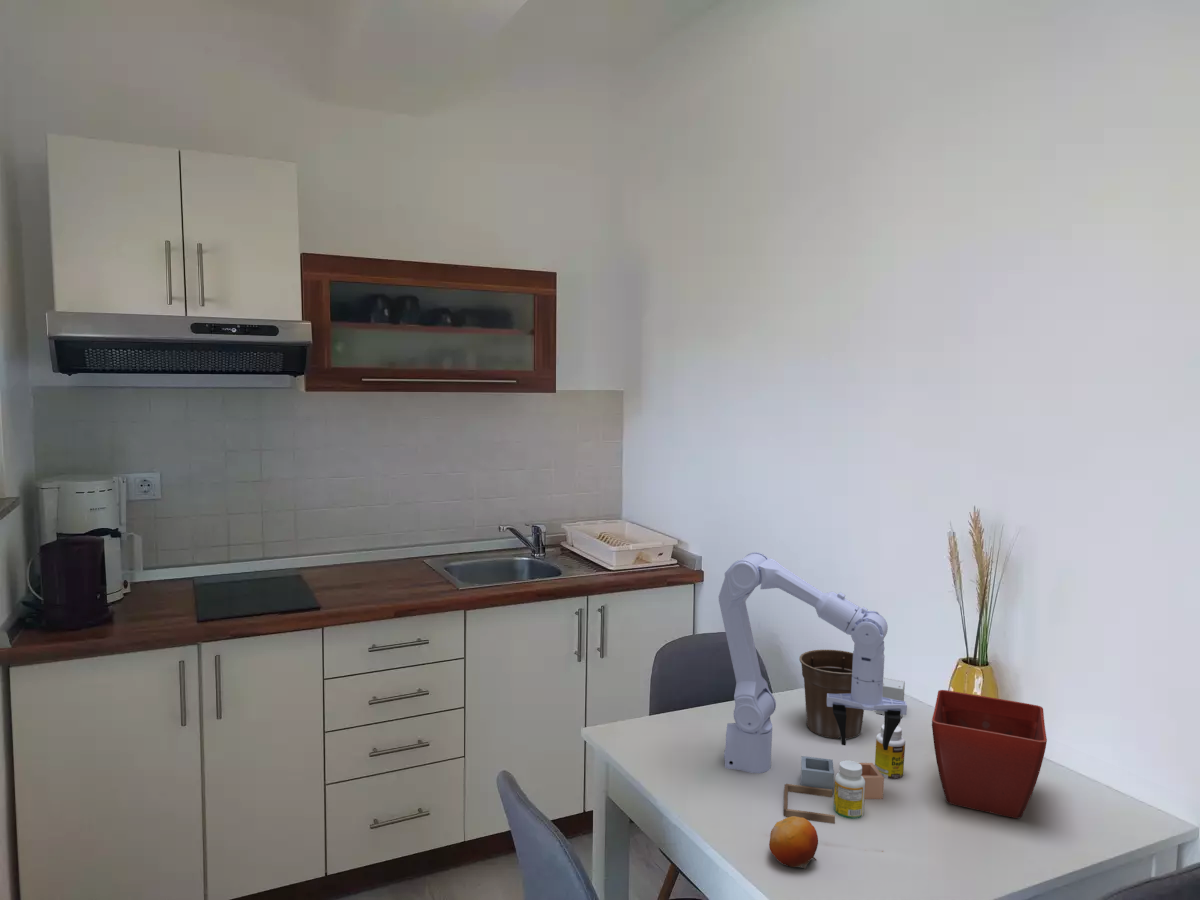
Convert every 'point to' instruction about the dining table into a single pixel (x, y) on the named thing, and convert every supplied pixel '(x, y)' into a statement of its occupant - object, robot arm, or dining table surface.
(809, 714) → the plant pot
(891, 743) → the supplement bottle
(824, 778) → the cup slate
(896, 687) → the skincare box
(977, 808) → the plant pot
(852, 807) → the supplement bottle
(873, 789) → the peach square planter
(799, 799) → the dining table surface
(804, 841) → the fruit
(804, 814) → the corral
